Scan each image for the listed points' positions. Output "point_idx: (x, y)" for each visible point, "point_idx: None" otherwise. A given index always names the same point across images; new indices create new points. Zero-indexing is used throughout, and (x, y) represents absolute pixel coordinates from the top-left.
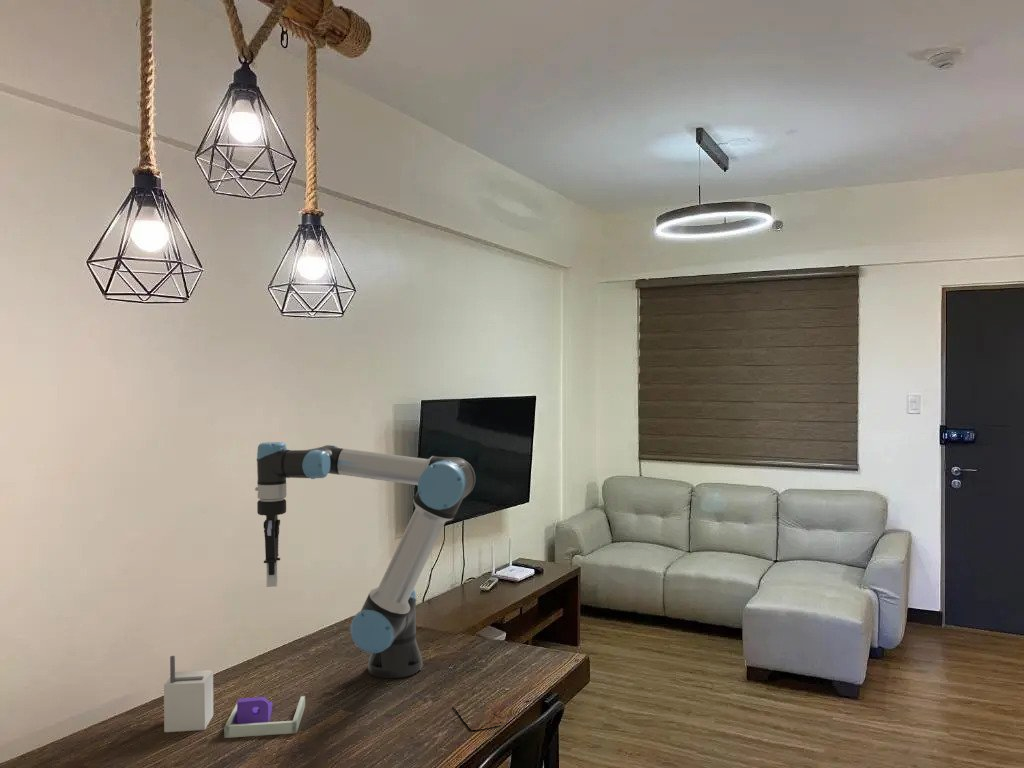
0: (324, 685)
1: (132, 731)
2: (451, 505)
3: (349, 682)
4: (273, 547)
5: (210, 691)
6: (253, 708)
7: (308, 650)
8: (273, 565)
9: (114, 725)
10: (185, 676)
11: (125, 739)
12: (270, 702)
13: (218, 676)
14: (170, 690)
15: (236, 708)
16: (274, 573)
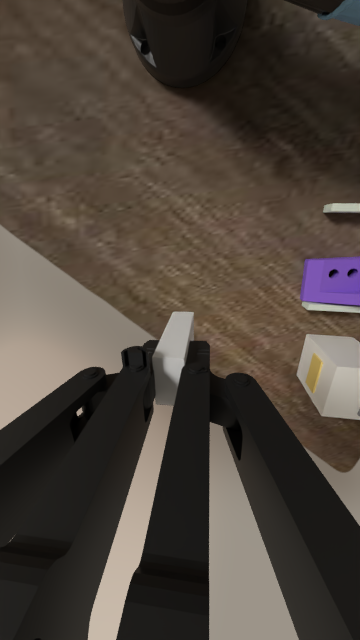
0: (241, 179)
1: None
2: None
3: (239, 127)
4: (322, 485)
5: (340, 353)
6: (341, 284)
7: (74, 229)
8: (208, 367)
9: (295, 424)
10: (350, 400)
11: None
12: (327, 261)
13: None
14: None
15: (340, 308)
16: (191, 342)
